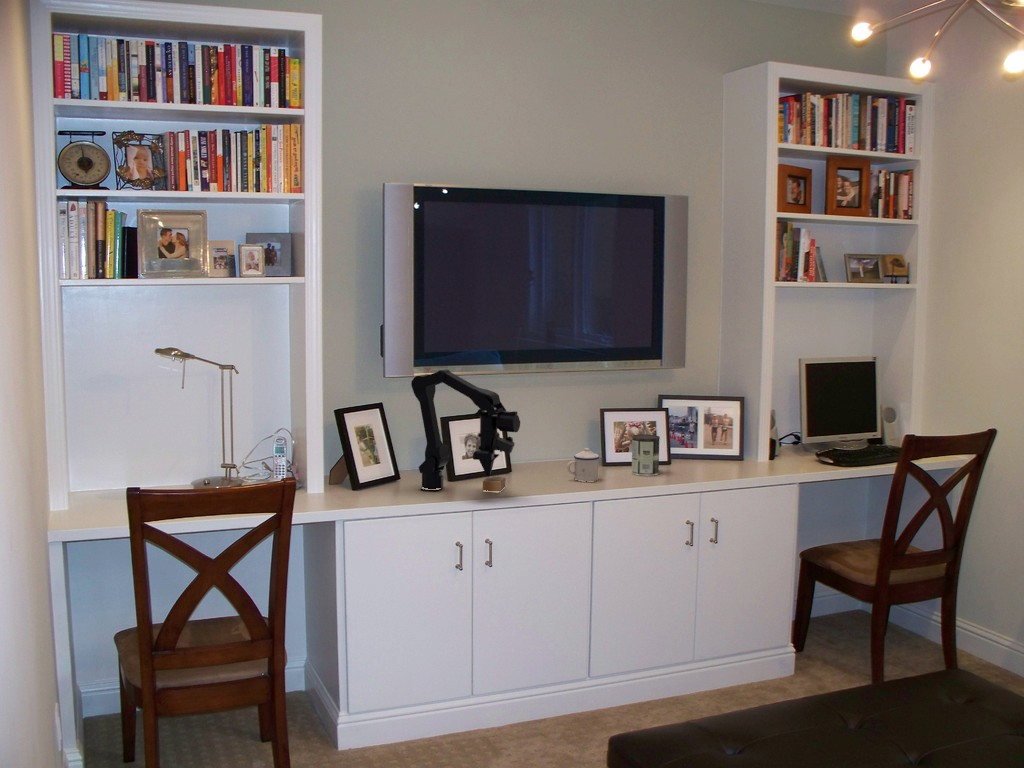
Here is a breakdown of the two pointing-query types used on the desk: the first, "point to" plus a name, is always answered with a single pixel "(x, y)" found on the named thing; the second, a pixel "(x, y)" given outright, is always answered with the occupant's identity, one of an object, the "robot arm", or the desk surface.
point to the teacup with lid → (585, 466)
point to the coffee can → (645, 455)
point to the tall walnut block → (494, 483)
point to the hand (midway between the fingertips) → (488, 476)
